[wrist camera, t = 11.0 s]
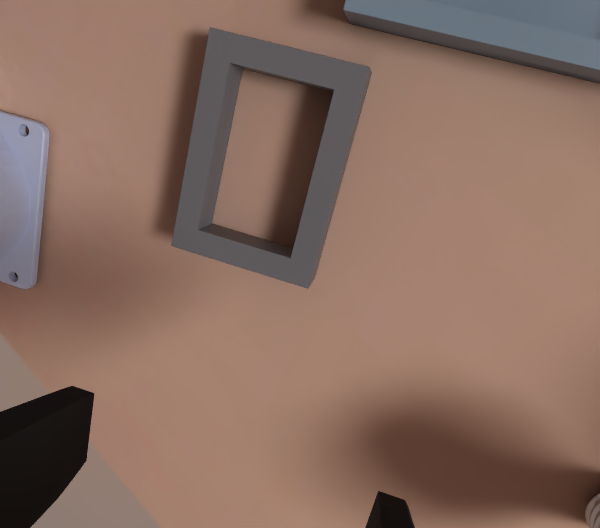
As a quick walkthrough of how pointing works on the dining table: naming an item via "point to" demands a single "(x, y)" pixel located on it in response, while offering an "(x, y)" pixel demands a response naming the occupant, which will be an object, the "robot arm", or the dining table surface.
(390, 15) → the parts tray
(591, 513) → the lightbulb
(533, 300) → the dining table surface
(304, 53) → the grey rectangular frame
